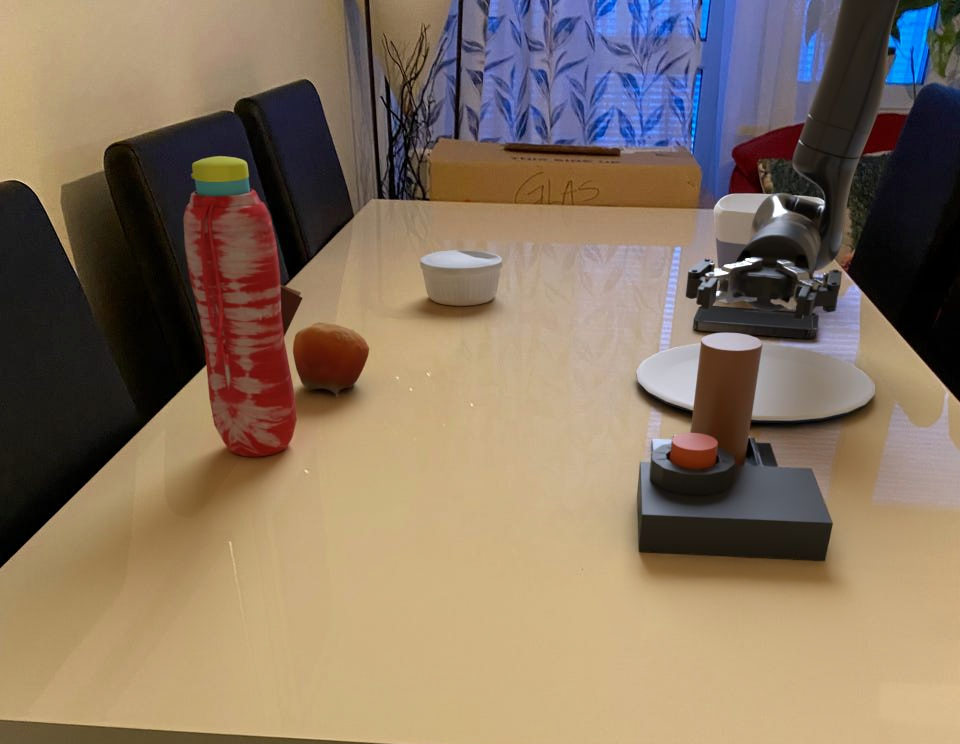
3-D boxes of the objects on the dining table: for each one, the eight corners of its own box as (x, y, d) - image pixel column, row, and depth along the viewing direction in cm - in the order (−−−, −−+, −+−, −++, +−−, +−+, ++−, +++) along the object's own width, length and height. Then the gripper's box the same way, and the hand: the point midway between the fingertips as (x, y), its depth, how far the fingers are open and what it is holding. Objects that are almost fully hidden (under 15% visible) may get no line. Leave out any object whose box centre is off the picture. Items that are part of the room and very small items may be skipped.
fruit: (275, 389, 103) (283, 311, 103) (304, 404, 111) (311, 332, 110) (348, 394, 101) (356, 316, 101) (372, 409, 109) (380, 337, 109)
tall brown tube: (712, 448, 91) (727, 329, 85) (755, 465, 88) (775, 342, 82) (675, 462, 89) (688, 340, 83) (718, 480, 85) (735, 354, 79)
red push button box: (636, 494, 85) (641, 439, 82) (804, 502, 83) (815, 446, 80) (638, 552, 76) (643, 492, 73) (825, 561, 75) (838, 500, 72)
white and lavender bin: (699, 297, 137) (708, 211, 131) (711, 271, 149) (720, 191, 143) (814, 305, 133) (829, 217, 127) (817, 277, 145) (831, 195, 139)
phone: (817, 330, 119) (692, 320, 123) (816, 339, 120) (691, 329, 124) (819, 312, 126) (700, 304, 129) (817, 321, 126) (699, 312, 130)
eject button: (668, 452, 81) (670, 431, 80) (713, 453, 80) (716, 433, 79) (670, 470, 78) (672, 449, 77) (717, 472, 77) (719, 451, 76)
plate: (615, 354, 116) (616, 343, 116) (823, 347, 118) (825, 337, 117) (663, 434, 96) (664, 422, 95) (914, 425, 97) (917, 413, 96)
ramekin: (514, 292, 140) (515, 253, 137) (481, 312, 132) (481, 271, 129) (444, 284, 144) (443, 246, 141) (407, 303, 136) (405, 263, 133)
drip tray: (651, 444, 94) (652, 426, 93) (769, 448, 93) (772, 430, 92) (654, 494, 85) (656, 474, 84) (785, 499, 83) (789, 480, 82)
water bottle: (259, 414, 101) (222, 143, 87) (330, 423, 99) (303, 147, 85) (195, 459, 92) (142, 163, 78) (272, 470, 89) (231, 168, 76)
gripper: (713, 220, 103) (679, 254, 91) (855, 231, 99) (841, 268, 86) (704, 294, 107) (671, 336, 95) (840, 307, 103) (824, 353, 91)
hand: (752, 304), depth 91 cm, fingers open, 8 cm apart
